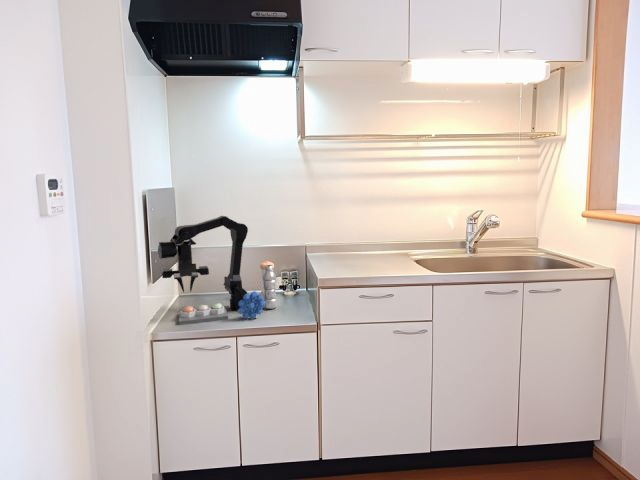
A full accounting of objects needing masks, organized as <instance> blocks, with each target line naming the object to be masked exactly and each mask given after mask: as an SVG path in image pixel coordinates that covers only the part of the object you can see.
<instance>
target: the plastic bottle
mask: <svg viewBox="0 0 640 480" xmlns="http://www.w3.org/2000/svg"><path fill="white" fill-rule="evenodd" d="M276 275H277V274H276V273H275V272H274V268H273V265H265V272H264V274H263V276H262V275H261V280H262V279H263V285H264V301H265V306H264V307H263V308H264V309H266V310H267V309H269V310H271V309H272V310H273V309H275V308H277V305H278V299H277V293H276V285H277V276H276Z"/></svg>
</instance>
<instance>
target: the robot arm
mask: <svg viewBox="0 0 640 480" xmlns="http://www.w3.org/2000/svg"><path fill="white" fill-rule="evenodd" d="M220 227H224V228H225V229H227V230H229V233H230V238H231V241H232V245H231V256H230V264H229V273H228V275H227V276H224V278H223V279H224V281H223V286H224V288H225V291H227V292H228V293H229V295H230V298H229V309H231V311H232V312H233V311H238V309H239V308H240V306H239V305H238V303H239V301H240V300H244V299H243V296H244V295H245V294H248V291H247V290H246V289H244V288H243V282H242V277H241V275H240V274H241V267H242V256H243V255H242V254H243V246H244V242H245V240H246V238H247V235H248V231H249V228H248V226H247V225H246V224H244V223H241V222H238V221H235V220H233V219H231V218H229V217H228V216H225V215H220V216H218V217H215V218H212V219H208V220H204V221H202V222H199V223H196V224H185V225H178V226H177V227H176V228H175V229H174V233H173V236H172V237H171V239H170V241H159V242H158V247H157V255H159V256H158V258H159V260H161V259H162V260H163V259H170V258H175V257H176V256H177V263H178V267H177V268H178V269H177V270H173V268H165V269H163V270H162V271H161V272H162V274H161V277H162V279H170V278H172V276H173V279H174V280H176V281H177V282H178V283H179V287H180V288H181V290H182V292H183V293H184V292H185V286H184V281H183V277H190V283H189V290H190V291H189V292H192V290H193V286H194V284H195V283H194V282H195V280H196V278H199V275H200V276H209V275H210V271H209V270H210V269H209V267H208V266H207V265H204V266H203V265H202V266H198V268H197V263H193V251H192V246H194V245H197V242H195V241H194V240H193V238H194V237H197V236H198V235H199V234H201V233H204V232H208V231H211V230H214V229H217V228H220Z"/></svg>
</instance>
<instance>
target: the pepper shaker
mask: <svg viewBox="0 0 640 480" xmlns="http://www.w3.org/2000/svg"><path fill="white" fill-rule="evenodd" d="M265 265H273V269H274V268H275V264H274V263H273V262H271V261H269V260H265V261H264V262H261V263H260V264H259V268H260V269H261V277H262V276H263V274H264V272H265ZM260 288H261V289H260V290H261V291H260V294H262V295H263V299H262V300H264V285H263V279H262V278H261V284H260Z"/></svg>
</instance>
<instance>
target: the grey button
mask: <svg viewBox="0 0 640 480" xmlns="http://www.w3.org/2000/svg"><path fill="white" fill-rule="evenodd" d="M208 307H209V306H208V305H207V304H200V305H198V306H197V308H198V311H205V310H208Z"/></svg>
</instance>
